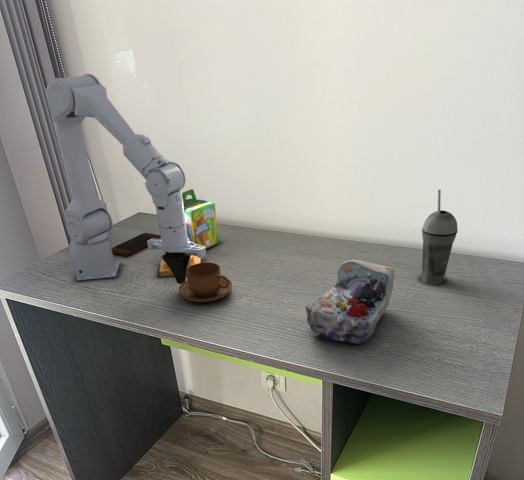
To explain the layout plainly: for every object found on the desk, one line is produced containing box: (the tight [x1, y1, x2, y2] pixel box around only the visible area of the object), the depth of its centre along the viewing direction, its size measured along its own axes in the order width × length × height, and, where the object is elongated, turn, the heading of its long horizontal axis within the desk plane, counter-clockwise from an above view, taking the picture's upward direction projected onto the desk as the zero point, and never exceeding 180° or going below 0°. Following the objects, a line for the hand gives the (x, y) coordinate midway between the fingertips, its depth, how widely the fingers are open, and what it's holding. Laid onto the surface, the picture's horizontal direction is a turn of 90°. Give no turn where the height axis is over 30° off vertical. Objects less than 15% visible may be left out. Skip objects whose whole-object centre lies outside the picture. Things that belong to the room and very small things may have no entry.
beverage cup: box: [421, 189, 458, 285], centre depth 106 cm, size 7×7×20 cm
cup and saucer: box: [177, 261, 233, 303], centre depth 109 cm, size 12×12×6 cm
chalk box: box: [181, 188, 220, 249], centre depth 133 cm, size 9×9×15 cm
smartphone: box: [111, 232, 161, 257], centre depth 139 cm, size 7×1×15 cm
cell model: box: [305, 259, 395, 345], centre depth 94 cm, size 13×11×20 cm
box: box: [158, 255, 202, 277], centre depth 123 cm, size 10×8×3 cm
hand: (181, 282), depth 113 cm, fingers closed
